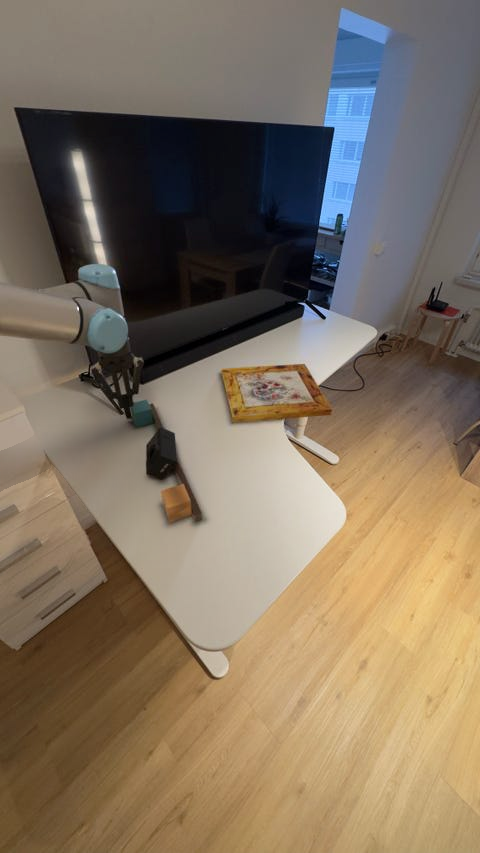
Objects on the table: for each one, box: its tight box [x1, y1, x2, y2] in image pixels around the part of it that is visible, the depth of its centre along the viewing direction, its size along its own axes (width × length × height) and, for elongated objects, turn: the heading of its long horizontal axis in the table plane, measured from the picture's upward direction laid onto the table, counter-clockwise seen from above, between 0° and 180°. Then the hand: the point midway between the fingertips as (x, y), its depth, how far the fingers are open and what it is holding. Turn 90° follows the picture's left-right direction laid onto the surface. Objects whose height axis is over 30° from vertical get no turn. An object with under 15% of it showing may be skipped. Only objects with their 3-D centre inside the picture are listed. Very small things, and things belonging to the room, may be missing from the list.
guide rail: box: [149, 403, 203, 523], centre depth 87 cm, size 2×42×2 cm, turn 25°
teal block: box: [130, 399, 154, 428], centre depth 97 cm, size 5×5×5 cm
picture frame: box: [220, 363, 333, 424], centre depth 110 cm, size 27×2×30 cm
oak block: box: [160, 484, 193, 523], centre depth 74 cm, size 5×5×5 cm
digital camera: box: [145, 427, 178, 481], centre depth 83 cm, size 10×5×7 cm
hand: (128, 415), depth 95 cm, fingers closed
